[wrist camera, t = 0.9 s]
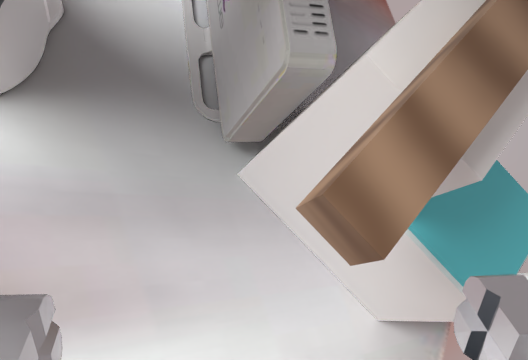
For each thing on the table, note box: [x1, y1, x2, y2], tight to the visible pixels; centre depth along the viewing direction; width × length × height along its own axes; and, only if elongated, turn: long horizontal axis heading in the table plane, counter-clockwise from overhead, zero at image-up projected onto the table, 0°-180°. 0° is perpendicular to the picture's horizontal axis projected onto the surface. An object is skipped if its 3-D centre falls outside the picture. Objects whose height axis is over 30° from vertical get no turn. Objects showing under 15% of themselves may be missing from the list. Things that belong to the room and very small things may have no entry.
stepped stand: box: [237, 0, 528, 322], centre depth 43 cm, size 12×22×26 cm, turn 47°
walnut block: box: [296, 0, 528, 266], centre depth 28 cm, size 26×4×3 cm, turn 137°
